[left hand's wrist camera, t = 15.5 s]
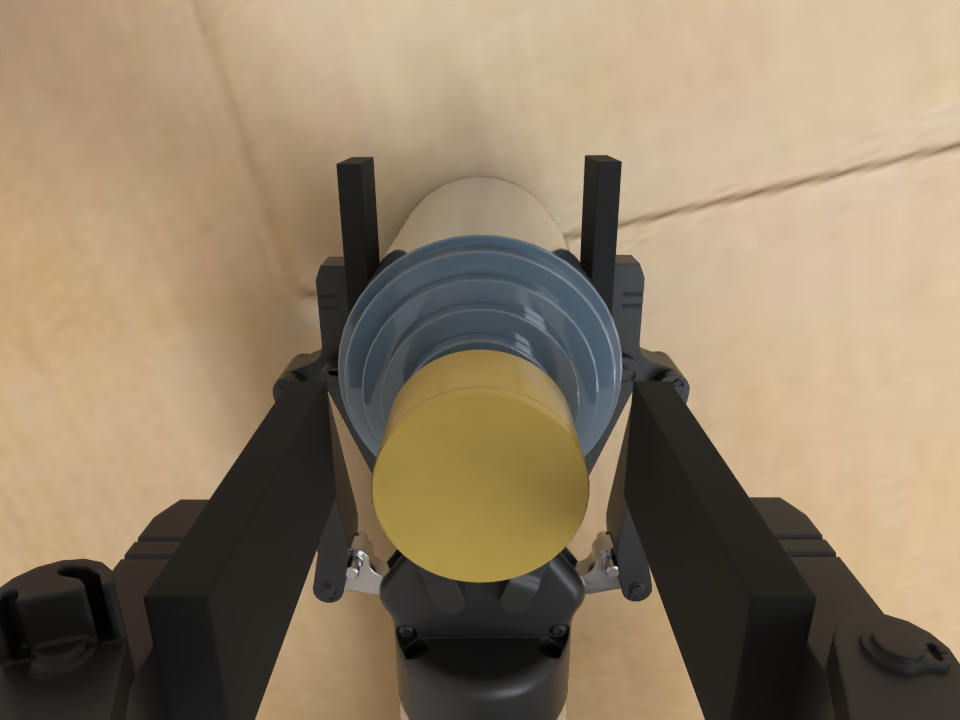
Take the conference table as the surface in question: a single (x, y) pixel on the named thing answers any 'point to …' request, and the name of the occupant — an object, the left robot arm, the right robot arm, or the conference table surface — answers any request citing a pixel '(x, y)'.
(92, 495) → the conference table surface
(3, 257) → the conference table surface
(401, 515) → the cap
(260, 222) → the conference table surface
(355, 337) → the bottle
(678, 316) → the conference table surface
